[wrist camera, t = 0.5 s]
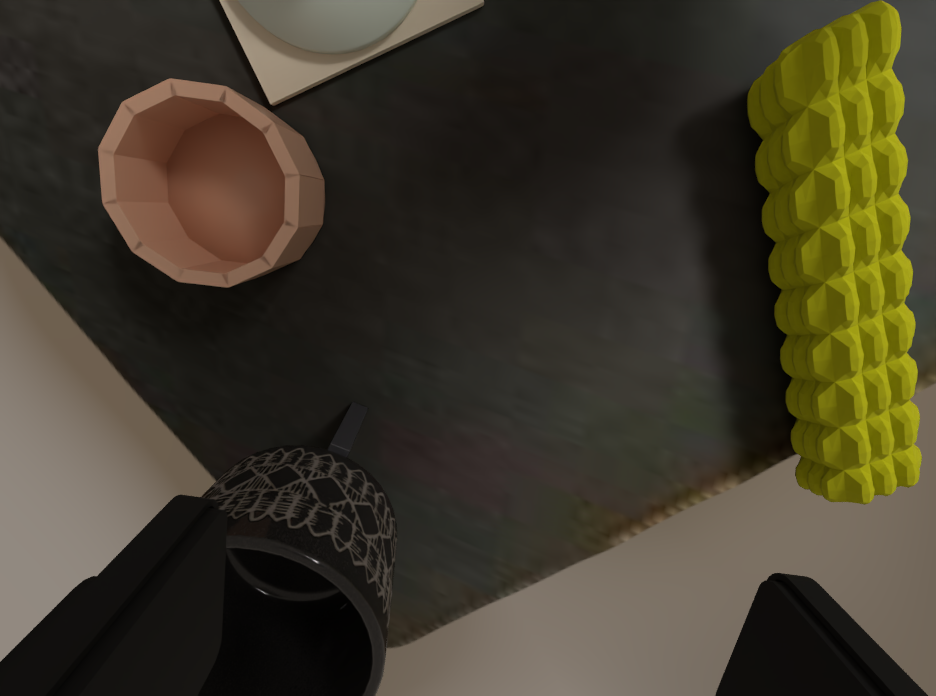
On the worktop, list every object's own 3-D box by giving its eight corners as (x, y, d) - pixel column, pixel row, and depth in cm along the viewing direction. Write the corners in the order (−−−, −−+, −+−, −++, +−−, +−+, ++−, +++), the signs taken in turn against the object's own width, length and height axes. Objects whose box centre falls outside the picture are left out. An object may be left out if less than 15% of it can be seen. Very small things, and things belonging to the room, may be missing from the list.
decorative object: (830, 27, 32) (933, -22, 25) (865, 458, 41) (947, 507, 34) (722, 63, 32) (794, 24, 25) (781, 483, 41) (846, 536, 35)
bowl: (275, 76, 31) (235, 45, 26) (352, 236, 34) (332, 241, 28) (129, 146, 32) (59, 133, 26) (216, 296, 35) (170, 313, 29)
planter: (269, 538, 41) (137, 773, 24) (237, 395, 37) (56, 552, 20) (422, 525, 41) (399, 749, 24) (404, 382, 37) (364, 525, 20)
